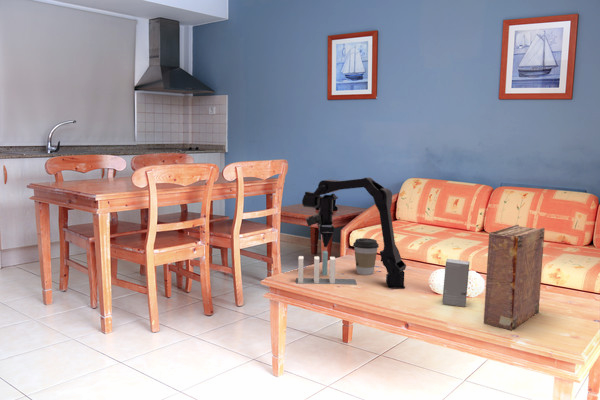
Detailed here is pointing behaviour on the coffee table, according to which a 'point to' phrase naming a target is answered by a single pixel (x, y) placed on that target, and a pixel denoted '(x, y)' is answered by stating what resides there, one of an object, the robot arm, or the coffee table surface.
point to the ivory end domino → (300, 269)
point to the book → (513, 276)
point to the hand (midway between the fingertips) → (324, 244)
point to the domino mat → (326, 281)
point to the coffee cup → (365, 255)
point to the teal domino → (324, 263)
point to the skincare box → (455, 282)
